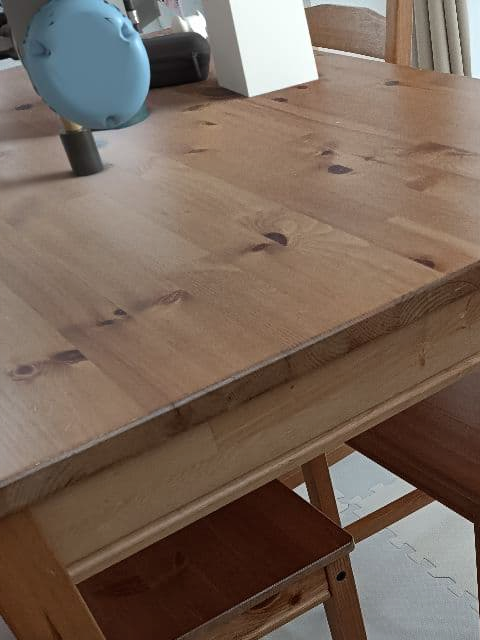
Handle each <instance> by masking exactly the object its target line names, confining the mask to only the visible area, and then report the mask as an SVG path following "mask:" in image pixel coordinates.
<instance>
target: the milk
mask: <svg viewBox="0 0 480 640" xmlns="http://www.w3.org/2000/svg"><path fill="white" fill-rule="evenodd" d="M201 4H202V9H203V14H204V19H205V21H206V28H207V35H208V39H209V45H210V49H211V55H212V59H213V63H214V68H215V74H216V78H217V84H218V86H219V87H222V88H224V89H227V90H229V91H232V92H234V93H237V94H239V95H242V96H245V97H247V98H252V97H256V96H260V95H263V94H268V93H271V92H275V91H279V90H283V89H287V88H291V87H293V86H298V85H303V84H305V83H309V82H313V81H317V80H319V74H318V67H317V64H316V60H315V59H316V58H315V54H314V50H313V44H312V40H311V35H310V30H309V25H308V22H307V21H308V20H307V16H306V11H305V6H304V1H303V0H201Z"/></svg>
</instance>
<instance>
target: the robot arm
mask: <svg viewBox="0 0 480 640" xmlns="http://www.w3.org/2000/svg"><path fill="white" fill-rule="evenodd" d="M0 4H1V7H2V9H3V11H0V55H8V57H10V59H11V60H13V61H20V63H21V64H22V66H23V68H24V70H25V71H26V73H27V75H28V78H29V81H30V83H31V85H32V88H33V90H34V92H35V93H36V95H37V96H39V97H41V100H42V102H43V103H44V104H46V105H47V106H48V107H49V109H50V110H51V111H53V112H54V113H55V114H57V115H58V116H59V115H60V116H62V117H64V118H66V119H68V120H69V121H71V122H73V123H75V124H77V125H80V126H83V127H87V128H92V129H107V128H114V127H116V126H119V125H121V124H123V123H125V122H127V121H128V120H129V119H131V118H132V117H133V116H134V115H135V114H136V113H137V112H138V111H139V109H140V108H141V106H142V104H143V102H144V100H146V98H147V96H148V93H149V89H150V88H149V84H150V67H149V60H148V56H147V53H146V50H145V47H144V45H143V43H142V39H141V34H143V32H144V31H143V29H145V28H146V27H147V26H148V25H150V24H151V23H153V22H154V21H155V20H157V19H158V18H160V17H161V16H162V13H161V10H160V6H159V3H158V0H0ZM60 116H59V117H60Z"/></svg>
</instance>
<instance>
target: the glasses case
mask: <svg viewBox="0 0 480 640" xmlns="http://www.w3.org/2000/svg"><path fill="white" fill-rule="evenodd" d="M140 37H141V36H140ZM141 39H142V43H143V45H144V47H145V50H146V53H147V56H148V60H149V67H150V84H149V89H155V88H162V87H169V86H175V85H183V84H189V83H190V84H191V83H196V82H202V81H204V80H206V79H208V77H209V74H210V63H211V55H212V49H211V44H210V42H209V41H208V40H207V38H206V39H205V38H204V37H203V36H202V35H201V34H199V33H197V32H179V33H173V32H167V33H162V34H161V33H160V34H155V35H149V36H143V37H141Z"/></svg>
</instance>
